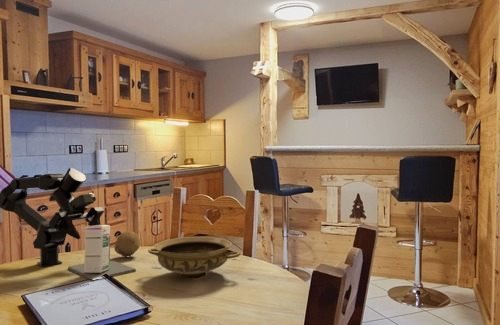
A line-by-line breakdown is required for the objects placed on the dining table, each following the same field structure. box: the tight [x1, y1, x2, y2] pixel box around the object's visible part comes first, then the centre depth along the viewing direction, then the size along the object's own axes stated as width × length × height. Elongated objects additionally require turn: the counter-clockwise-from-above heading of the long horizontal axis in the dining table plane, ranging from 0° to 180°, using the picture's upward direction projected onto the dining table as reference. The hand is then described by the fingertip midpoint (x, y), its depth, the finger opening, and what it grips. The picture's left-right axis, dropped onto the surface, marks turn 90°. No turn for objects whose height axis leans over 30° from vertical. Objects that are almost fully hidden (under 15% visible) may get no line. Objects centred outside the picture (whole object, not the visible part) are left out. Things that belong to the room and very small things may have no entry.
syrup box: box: [83, 224, 111, 273], centre depth 121 cm, size 6×6×14 cm
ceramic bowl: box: [147, 236, 241, 280], centre depth 118 cm, size 30×24×10 cm
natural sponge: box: [114, 230, 141, 257], centre depth 143 cm, size 9×9×10 cm
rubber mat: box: [67, 259, 137, 280], centre depth 126 cm, size 20×14×1 cm
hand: (90, 236), depth 126 cm, fingers open, 9 cm apart
